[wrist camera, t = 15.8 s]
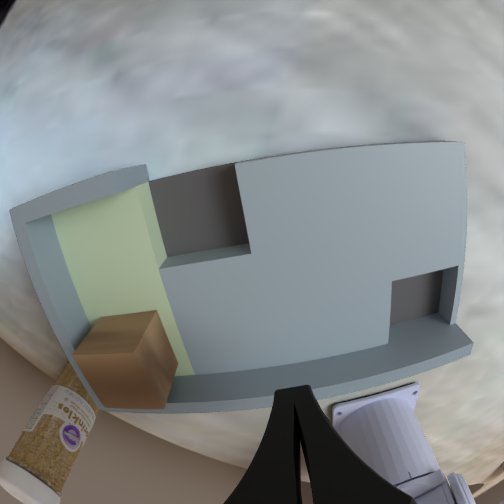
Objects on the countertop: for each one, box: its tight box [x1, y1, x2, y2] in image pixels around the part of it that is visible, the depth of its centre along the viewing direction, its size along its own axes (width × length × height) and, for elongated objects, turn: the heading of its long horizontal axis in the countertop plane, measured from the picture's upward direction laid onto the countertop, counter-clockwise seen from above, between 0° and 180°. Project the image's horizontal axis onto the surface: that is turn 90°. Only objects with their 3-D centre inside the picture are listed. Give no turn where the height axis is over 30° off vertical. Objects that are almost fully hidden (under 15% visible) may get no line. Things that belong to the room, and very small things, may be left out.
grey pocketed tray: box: [9, 141, 473, 413], centre depth 15 cm, size 14×25×4 cm, turn 100°
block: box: [72, 310, 178, 409], centre depth 15 cm, size 4×4×4 cm
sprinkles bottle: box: [0, 362, 99, 504], centre depth 15 cm, size 5×5×13 cm
